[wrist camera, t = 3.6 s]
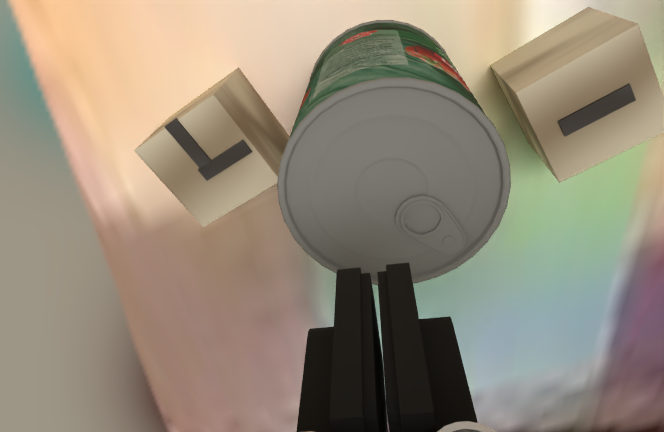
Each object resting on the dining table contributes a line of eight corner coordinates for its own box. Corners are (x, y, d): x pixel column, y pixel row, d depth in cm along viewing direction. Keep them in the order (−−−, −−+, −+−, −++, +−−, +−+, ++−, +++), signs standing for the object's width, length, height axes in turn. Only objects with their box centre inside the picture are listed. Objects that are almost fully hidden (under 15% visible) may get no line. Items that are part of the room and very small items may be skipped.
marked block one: (620, 93, 25) (675, 128, 21) (528, 142, 27) (560, 183, 22) (587, 6, 23) (639, 24, 19) (489, 64, 25) (516, 93, 20)
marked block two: (294, 142, 28) (280, 182, 23) (227, 183, 29) (202, 228, 25) (237, 65, 26) (210, 93, 21) (169, 114, 27) (131, 150, 23)
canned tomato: (279, 103, 26) (230, 200, 17) (379, -17, 23) (388, 20, 14) (384, 190, 29) (393, 318, 19) (488, 93, 25) (561, 189, 16)
